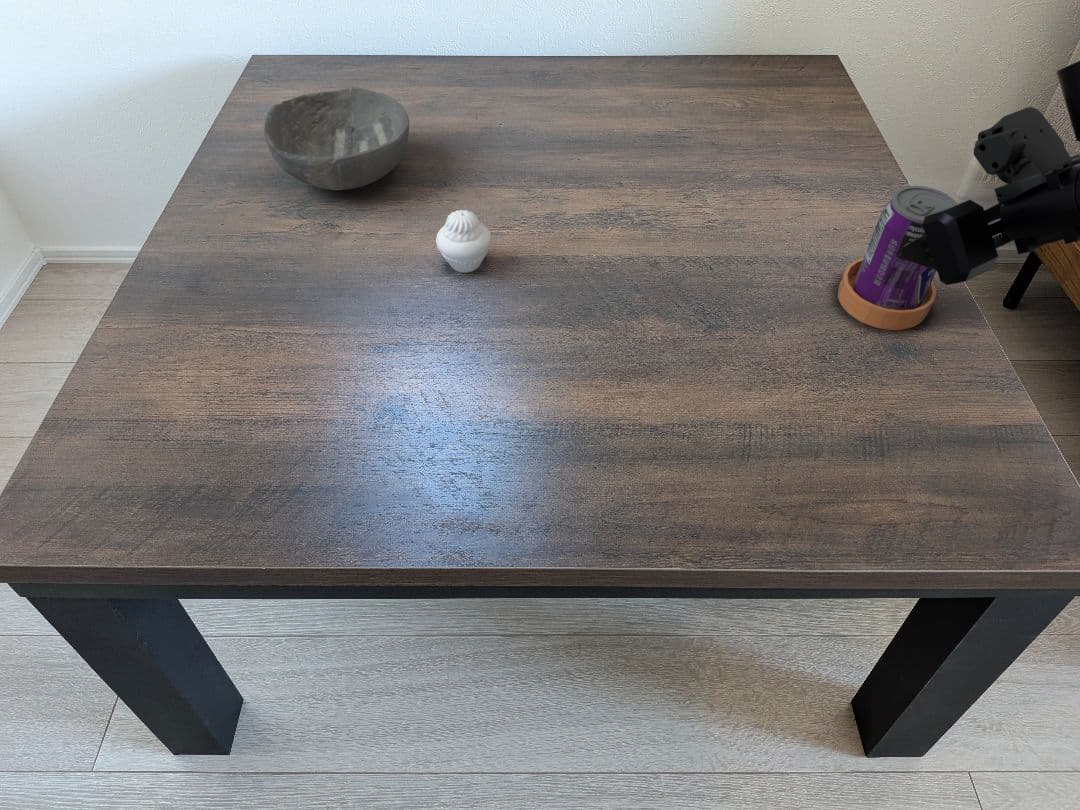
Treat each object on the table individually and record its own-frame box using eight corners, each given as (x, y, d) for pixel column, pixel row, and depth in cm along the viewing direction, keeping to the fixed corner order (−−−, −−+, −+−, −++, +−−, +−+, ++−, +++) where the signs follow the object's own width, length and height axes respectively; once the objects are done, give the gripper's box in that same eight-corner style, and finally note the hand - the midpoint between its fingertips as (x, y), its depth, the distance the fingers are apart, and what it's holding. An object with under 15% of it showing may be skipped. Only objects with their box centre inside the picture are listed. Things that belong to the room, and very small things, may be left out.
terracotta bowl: (921, 279, 88) (930, 261, 86) (932, 335, 82) (941, 317, 80) (835, 269, 89) (841, 251, 87) (839, 323, 83) (846, 305, 81)
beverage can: (893, 329, 82) (936, 233, 73) (837, 294, 85) (872, 199, 76) (932, 301, 85) (979, 206, 76) (877, 269, 88) (915, 175, 79)
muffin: (435, 252, 91) (428, 200, 86) (486, 244, 92) (483, 192, 87) (444, 285, 87) (437, 233, 82) (497, 276, 88) (495, 224, 83)
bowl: (419, 208, 97) (411, 149, 91) (273, 221, 95) (255, 162, 89) (412, 134, 109) (404, 78, 103) (282, 145, 107) (267, 88, 101)
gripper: (1143, 68, 64) (976, 134, 79) (990, 126, 58) (839, 186, 72) (1179, 198, 65) (1008, 239, 80) (1033, 269, 59) (877, 300, 74)
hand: (936, 238), depth 76 cm, fingers open, 9 cm apart
